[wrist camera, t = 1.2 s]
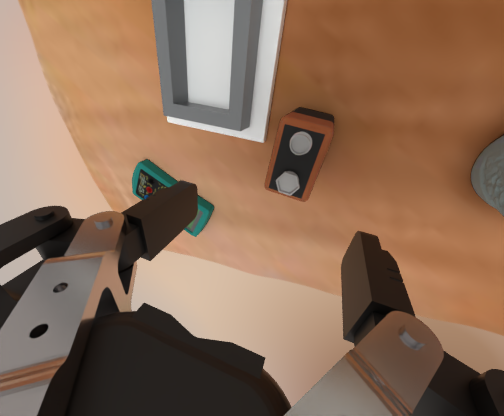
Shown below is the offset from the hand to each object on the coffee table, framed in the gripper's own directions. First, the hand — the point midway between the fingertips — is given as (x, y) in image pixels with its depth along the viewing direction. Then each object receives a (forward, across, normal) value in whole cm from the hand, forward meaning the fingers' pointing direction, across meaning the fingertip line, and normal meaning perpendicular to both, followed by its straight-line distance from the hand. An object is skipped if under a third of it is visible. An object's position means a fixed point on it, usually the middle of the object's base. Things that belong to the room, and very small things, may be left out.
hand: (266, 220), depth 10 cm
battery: (+18, 0, 0) cm, 18 cm away
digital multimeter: (+19, +20, +14) cm, 31 cm away
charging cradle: (+18, +12, -7) cm, 23 cm away
